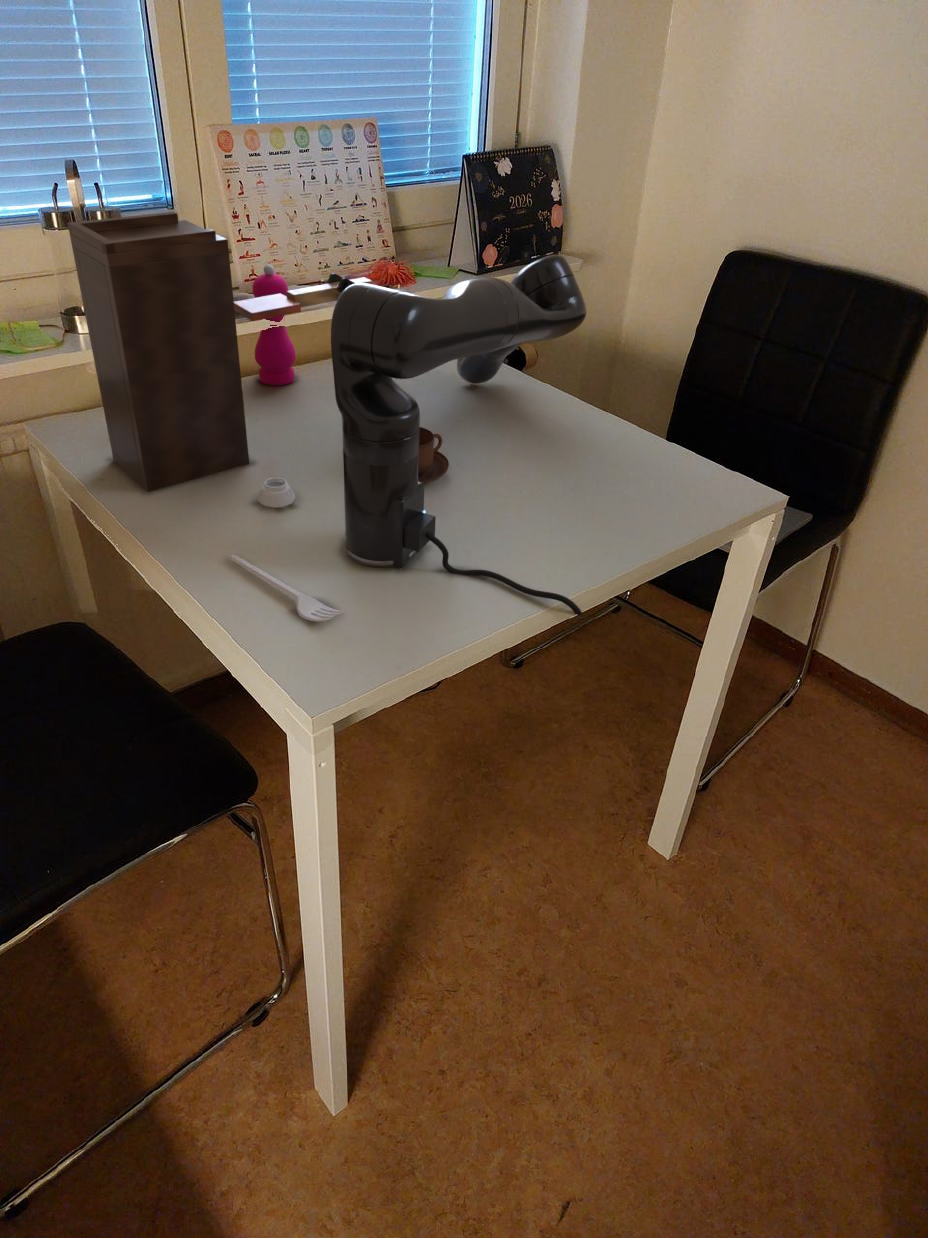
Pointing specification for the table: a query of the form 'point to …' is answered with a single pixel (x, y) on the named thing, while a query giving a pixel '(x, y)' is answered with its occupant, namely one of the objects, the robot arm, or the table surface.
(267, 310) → the spatula
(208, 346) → the tall wooden box
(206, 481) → the table surface
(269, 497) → the white jar
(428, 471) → the cup and saucer
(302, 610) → the fork
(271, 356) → the pepper mill
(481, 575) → the robot arm
